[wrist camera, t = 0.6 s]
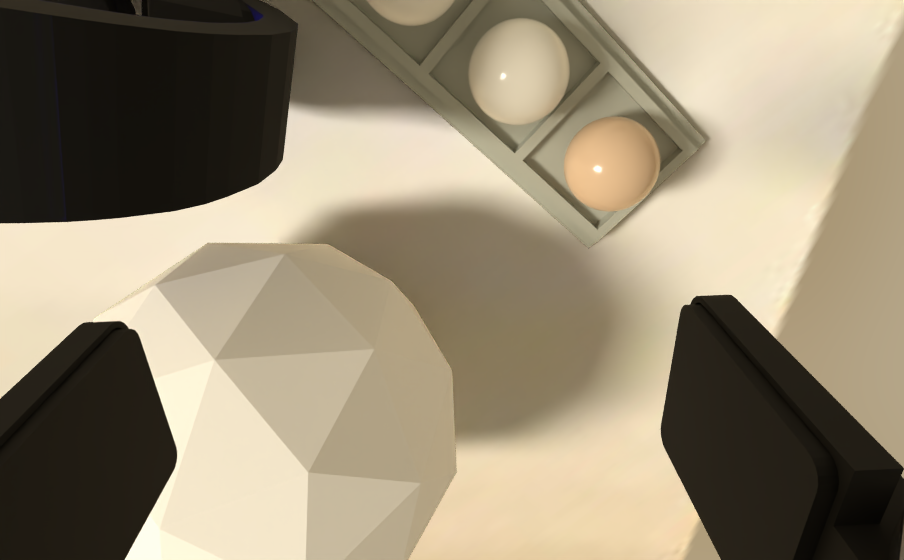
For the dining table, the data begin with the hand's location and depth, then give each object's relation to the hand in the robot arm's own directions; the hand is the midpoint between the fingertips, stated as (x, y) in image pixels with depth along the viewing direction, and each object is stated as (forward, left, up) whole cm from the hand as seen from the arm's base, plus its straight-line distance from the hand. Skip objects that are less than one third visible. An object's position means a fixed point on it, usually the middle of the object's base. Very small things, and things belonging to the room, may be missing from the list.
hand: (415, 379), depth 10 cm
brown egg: (-5, +9, -24) cm, 26 cm away
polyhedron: (+16, +3, -25) cm, 30 cm away
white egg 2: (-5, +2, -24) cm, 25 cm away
